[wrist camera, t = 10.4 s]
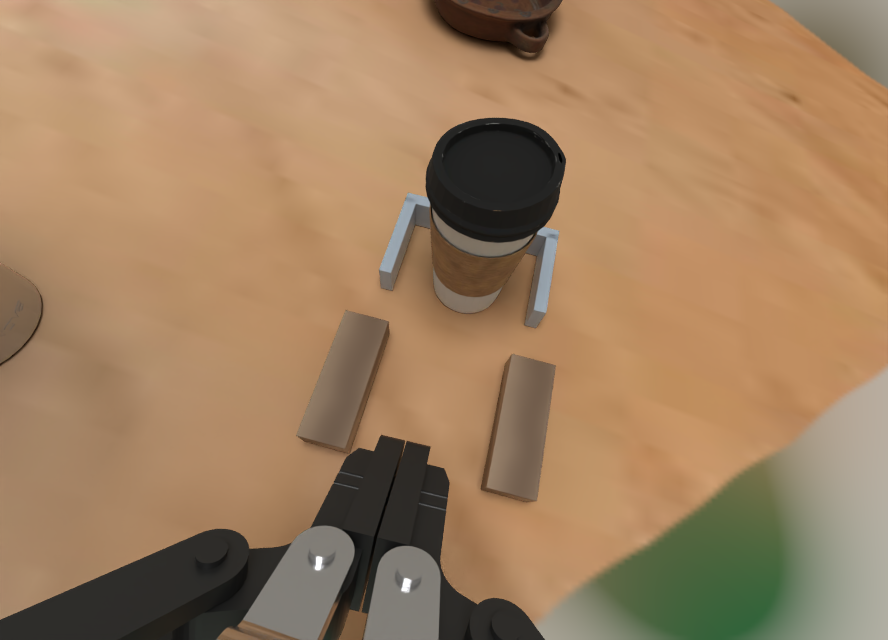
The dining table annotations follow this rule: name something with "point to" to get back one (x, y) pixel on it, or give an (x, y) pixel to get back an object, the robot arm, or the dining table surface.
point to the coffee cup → (488, 205)
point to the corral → (418, 214)
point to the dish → (501, 20)
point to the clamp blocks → (514, 425)
